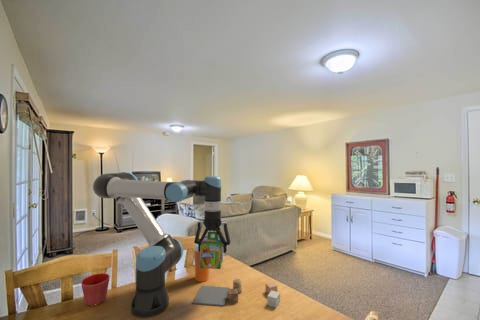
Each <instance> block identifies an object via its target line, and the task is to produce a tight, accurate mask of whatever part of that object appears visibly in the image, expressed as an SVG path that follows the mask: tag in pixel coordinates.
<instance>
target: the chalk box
mask: <svg viewBox="0 0 480 320" xmlns="http://www.w3.org/2000/svg"><path fill="white" fill-rule="evenodd" d="M212 235H214V236H212ZM222 245H223V244H222V242H221V240H220V238H219V236H218V233H217V232H216V231H208V232H207V236H205V238H204V239H203V241H202V242H201V262H200V268H209V270H210V269H213V270H220V269H221V268H222V265H223V262H224V260H223V261H222Z"/></svg>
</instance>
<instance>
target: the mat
mask: <svg viewBox="0 0 480 320" xmlns="http://www.w3.org/2000/svg"><path fill="white" fill-rule="evenodd" d="M228 289H231V288H230V287H228V286H227V287H226V286H214V285H213V286H212V285H200V288H199V289H198V291H197V292H196V294H195V297H194V299H192V304H193V305H202V306H204V305H206V306H215V307H216V306H217V307H225V305H226V302H227V299H228Z"/></svg>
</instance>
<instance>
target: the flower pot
mask: <svg viewBox="0 0 480 320" xmlns="http://www.w3.org/2000/svg"><path fill="white" fill-rule="evenodd" d="M80 283H81V284H80V285H81V289H82V295H83V299H84V303H85V304H84V305H86V306H87V305H94V306H96V305H95V304H98V305H99V303H100V304H102V303H103V302H105V301H106V299H107V294H108V289H109V283H110V274H108V273H105V272H104V273H103V272H101V273H95V274H92V275H88V276H86V277H84V279H82V280H81V282H80ZM101 302H102V303H101Z"/></svg>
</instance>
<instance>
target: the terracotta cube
mask: <svg viewBox="0 0 480 320" xmlns="http://www.w3.org/2000/svg"><path fill="white" fill-rule="evenodd" d="M271 290H272V291H276V292H278V285H277V284H276V283H275V282H274V281H271V282H267V283H266V282H265V293H266V294H267V296H268V295H269V293H270V292H271Z"/></svg>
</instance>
